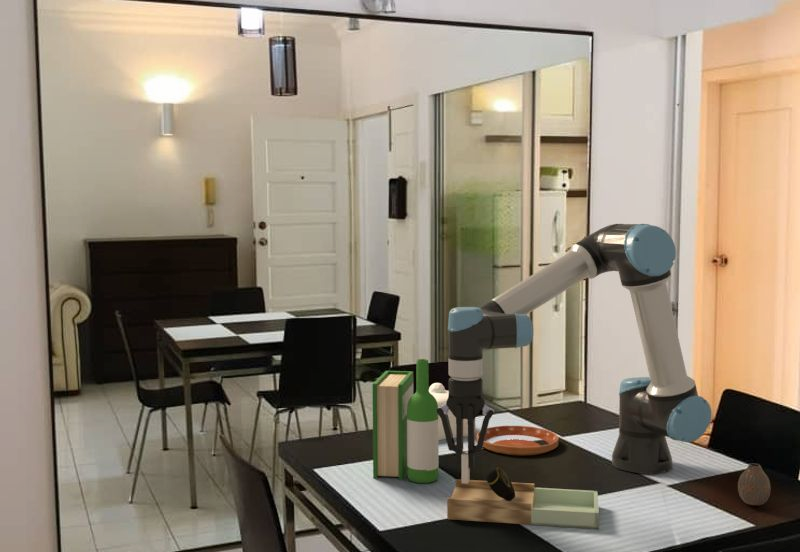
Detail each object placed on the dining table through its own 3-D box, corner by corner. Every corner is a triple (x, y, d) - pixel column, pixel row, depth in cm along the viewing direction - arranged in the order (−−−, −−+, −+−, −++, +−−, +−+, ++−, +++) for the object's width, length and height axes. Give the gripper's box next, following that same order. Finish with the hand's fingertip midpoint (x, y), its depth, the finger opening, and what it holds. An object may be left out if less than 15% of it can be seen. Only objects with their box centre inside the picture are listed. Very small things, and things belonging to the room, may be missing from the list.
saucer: (571, 444, 252) (571, 431, 252) (538, 464, 233) (538, 450, 232) (498, 433, 264) (498, 421, 264) (462, 451, 245) (462, 438, 245)
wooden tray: (534, 502, 201) (534, 483, 201) (531, 524, 188) (531, 503, 187) (456, 498, 205) (456, 479, 205) (447, 519, 191) (447, 498, 191)
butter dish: (421, 446, 250) (420, 391, 249) (395, 431, 267) (395, 379, 266) (475, 439, 258) (475, 385, 256) (447, 425, 274) (447, 375, 273)
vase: (767, 509, 196) (768, 470, 196) (734, 504, 200) (735, 466, 199) (772, 500, 202) (773, 463, 201) (740, 495, 206) (741, 458, 205)
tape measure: (506, 506, 194) (519, 495, 193) (486, 491, 191) (499, 481, 190) (498, 484, 200) (510, 474, 199) (479, 470, 197) (491, 460, 196)
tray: (597, 506, 199) (597, 491, 199) (598, 529, 185) (598, 513, 184) (534, 502, 202) (534, 487, 201) (531, 525, 187) (531, 508, 187)
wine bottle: (407, 474, 223) (406, 357, 221) (438, 474, 223) (438, 357, 221) (406, 484, 215) (406, 362, 213) (438, 484, 215) (438, 362, 213)
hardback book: (402, 480, 219) (402, 384, 217) (373, 478, 220) (372, 383, 218) (413, 460, 236) (413, 371, 234) (386, 459, 237) (385, 370, 236)
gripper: (496, 375, 198) (496, 478, 199) (439, 373, 200) (439, 475, 202) (493, 381, 190) (493, 488, 192) (433, 379, 193) (434, 485, 195)
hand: (465, 481), depth 197 cm, fingers closed
